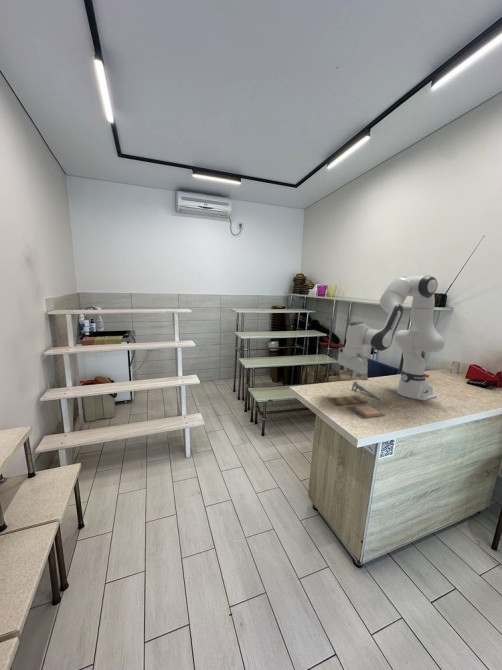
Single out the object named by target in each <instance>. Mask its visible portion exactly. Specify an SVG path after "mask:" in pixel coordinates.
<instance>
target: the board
mask: <svg viewBox="0 0 502 670" xmlns="http://www.w3.org/2000/svg"><path fill="white" fill-rule="evenodd" d="M327 400H328V401H329V402H330V403H332V404H333V405H335V407H338V406H347V405H359V404H368V403H369V401H368V400H367V399H365V398H363V397H361V396H360V395H348V396H337V397H335V396H334V397H328V398H327Z"/></svg>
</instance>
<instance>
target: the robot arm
mask: <svg viewBox="0 0 502 670" xmlns="http://www.w3.org/2000/svg"><path fill="white" fill-rule="evenodd" d="M437 290H438V281H437V279H436V277H435V276H430V275H412V276H403V277H401V276H400V277H397V278H396V277H395V279H394V280H393V281H391V283H390V284H389V285H387V288H386V289H385V290H384V292H383V293H382V295H381V297H380V299H379V305H380V308H381V309H383V311H385V312H386V313H387V314H388V316H387V318H386V320H385V323H384V325H383V327H382V328H381V329H375V328H371V327H370V326H367V325H366V324H365V322H363V321H352V322H350V323H349V324H348V325H347V328H346V329H347V330H346V334H345V340H346V342H345V345H344V347H339V348H338V354H337V363H338V364H339V365H340V366H342V367H344V370H353V374H352V375H351V378H353V379H354V378H355V376H356V374H357V373H360V374H362V375H366V374H367V373H368V359H367V357H366V356H365V355H363V350H364V346H366V347H369V348H372V349H375V350H377V351H379V352H383V351H386V350H387V349H388V348H390V347H391V346H392V342H393V339H394V341H395V344H396V345H397V346H398V347H399V349H400V350H401V352H402V355H403V362H402V363H403V365H402V369H401V371H400V377H399V380H398V384H397V386H396V388H395V389H396V391H395V392H396V393H397V394H398V395H400V396H403V397H405V398H410V399H414V400H418V401H427V400H431V399H434V398H437V397H438V395H437V394H436V393H435V392H434V391H433V390H434V387H433V385H432V384H430V383H429V381H427V380H426V378H428V379H429V378H430V375H429V374H428V373H425V370H426V365H427V363H426V360H425V358H424V357H422V356H421V354H419V351H421V352H426V353H439V352H441V351H442V350H443V349H444V347H445V340H444V339H445V338H444V337H443V336H442V335H441V334H440V333H439V332H438V331H437V329H436V327H435V326H434V313H435V300H436V297H435V293H436V291H437ZM407 297H412V301H411V307H410V312H409V313H410V314H409V321H410V323H412V325H414V326H416V328H417V330H413V329H412V330H411V329H400V330H398V331H397V328H398V326H399V323H400V321H401V319H402V317H403V313H404V307H403V305H404V302H405V301H406V300H407ZM396 331H397V332H396ZM395 332H396V333H395Z"/></svg>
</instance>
